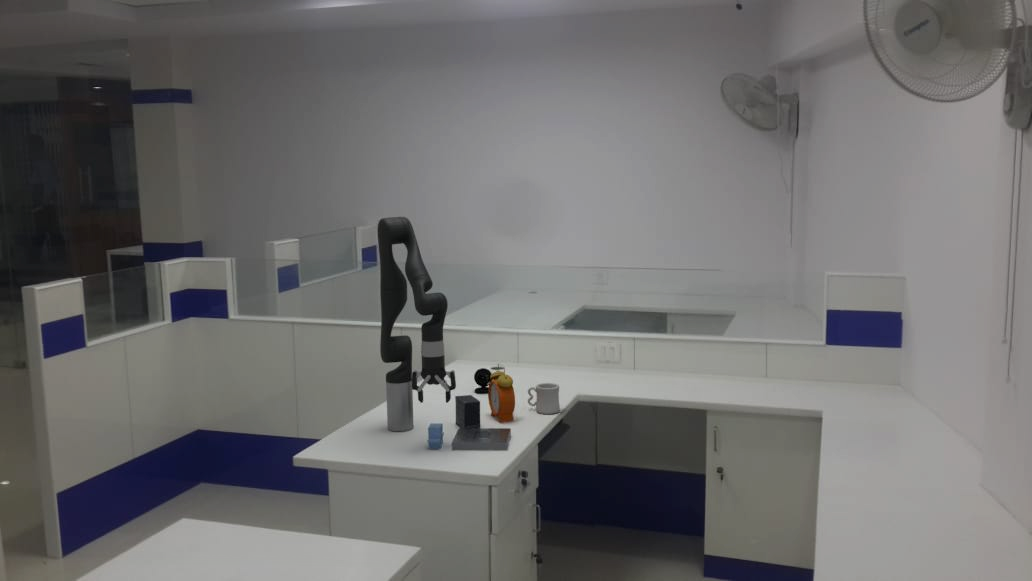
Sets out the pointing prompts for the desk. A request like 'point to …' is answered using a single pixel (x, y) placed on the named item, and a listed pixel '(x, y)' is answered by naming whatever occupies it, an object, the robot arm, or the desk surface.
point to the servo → (435, 435)
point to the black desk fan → (482, 380)
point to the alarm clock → (501, 396)
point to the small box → (467, 412)
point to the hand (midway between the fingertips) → (434, 402)
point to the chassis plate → (481, 439)
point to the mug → (546, 398)
